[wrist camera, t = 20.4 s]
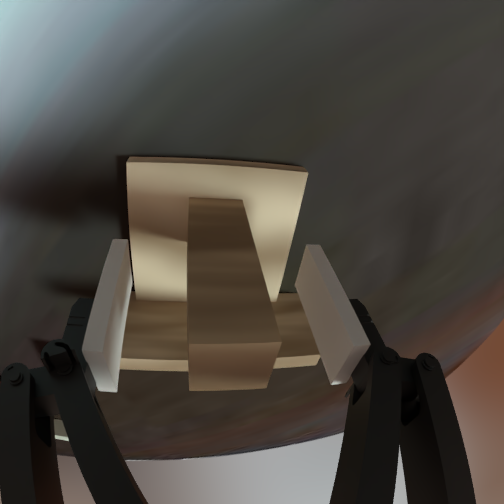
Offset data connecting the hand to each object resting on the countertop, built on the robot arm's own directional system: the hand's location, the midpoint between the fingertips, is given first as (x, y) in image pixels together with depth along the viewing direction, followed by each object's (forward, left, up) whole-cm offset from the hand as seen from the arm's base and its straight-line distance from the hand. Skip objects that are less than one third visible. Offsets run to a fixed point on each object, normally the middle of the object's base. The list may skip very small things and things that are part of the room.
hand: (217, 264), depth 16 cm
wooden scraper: (+2, 0, -5) cm, 5 cm away
